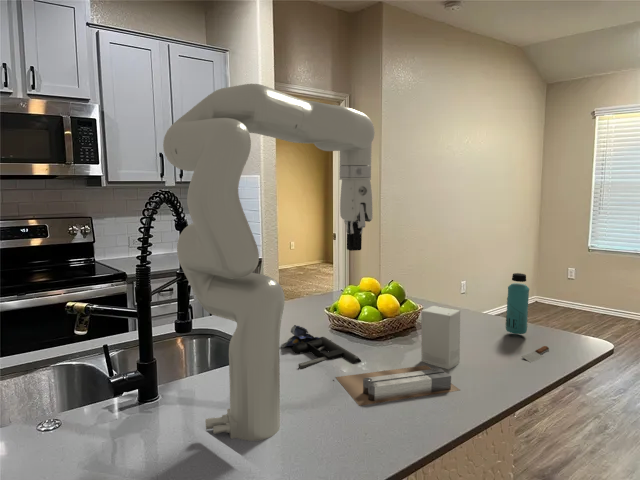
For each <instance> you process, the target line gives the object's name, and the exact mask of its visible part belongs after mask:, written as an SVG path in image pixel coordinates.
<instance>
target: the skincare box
mask: <svg viewBox="0 0 640 480" xmlns="http://www.w3.org/2000/svg"><path fill="white" fill-rule="evenodd" d="M420 337H421V345H420V346H421V351H420V352H421V357H420V358H421V362H423V363H426V364H429V365H432V366H435V367H438V368H441V369H446V370H450V369H452V368H454V367H455V366H457V365H459V364H460V363H461V361H460V359H461V357H460V355H461V352H460V351H461V310H458V309H452V308H447V307H443V306H442V307H440V306H438V305H431V306H429V307H427V308H425V309H423V310H421V336H420Z"/></svg>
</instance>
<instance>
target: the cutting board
mask: <svg viewBox="0 0 640 480" xmlns="http://www.w3.org/2000/svg"><path fill="white" fill-rule="evenodd" d="M429 369H432V367H430V366H428V365H427V364H424V365H419V366H411V367H410V366H409V367H405V368H404V367H403V368H396V369H388V370H380V371H373V372H366V373H357V374H350V375H349V374H348V375H341V376H335V379H336V380H337V381H338V382H339V383H340V385H341V386H342V387H343V389H345V391H346V392H347V393H348V394H349V396H350V397H351V398H352V399H353V400H354V402H355V403H356V404H357V406H358V407H359V406H360V407H361V406H368V405H374V404H380V403H386V402H394V401H399V400H400V401H401V400H405V399H406V400H407V399H412V398H418V397H425V396H432V395H439V394H443V393H444V394H445V393H452V392H459V391H461V389H460V388H458V387H457V386H456V385H454V384H453V383H452V382H451V390H444V391H437V392H430V393H423V394H417V395H410V396H404V397H397V398H391V399H384V400H377V401H370V400H368V394H364V393H363V379H364V378H369V377H377V376H385V375H392V374H400V373H408V372H416V371H421V370H429Z"/></svg>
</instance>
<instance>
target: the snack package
mask: <svg viewBox="0 0 640 480" xmlns="http://www.w3.org/2000/svg"><path fill="white" fill-rule="evenodd" d="M290 333H291V334H292V335H293V336H291V337H289V339H288V340H287V342H285V343H284V344H281V345H280V346H281V347H282V348H283V349H285V347H293V346H294V345H297V344H301V343H305V342H309V341H313V340H317V339H319V338H320V337H319V336H314V335H311V334H310V333H309V331H308V329H307V328H305V327H303V326H300V325H296V324H294V325H292V327H291V328H290Z"/></svg>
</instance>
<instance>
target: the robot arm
mask: <svg viewBox="0 0 640 480" xmlns="http://www.w3.org/2000/svg"><path fill="white" fill-rule="evenodd" d="M250 134H257V135H260V136H264V137H270V138H275V139H278V140H281V141H286V142H290V143H295V144H297V143H298V144H314V146H315V147H316V148H317V149H319V150H321V151H324V152H339V176H338V177H339V179H338V180H341V185H340V199H339V200H340V201H339V214H340V218H341V219H342V220H343V221H344V224H345V227H346V229H345V231H346V250H347V251H351V252H352V251H354V252H355V251H361V250H362V239H363V238H362V237H363V236H362V234H363V231H364V228H366V222H367V223H368V222H369V223H370V222H371V221H372V220H373V192H372V184H371V180H372V146H373V141H374V139H375V127H374V123H373V121H372V119H371V118H370V117H369V116H368V115H366V114H365V113H364V112H361V111H359V110H356V109H353V108H352V107H351V108H350V107H347V106H344V105H343V106H342V105H338V104H337V105H336V104H329V103H324V102H319V101H313V100H307V99H306V100H305V99H302V98H299V97H296V96H294V95H290V94H288V93H286V92H282V91H279V90H277V89H275V88H272V87H269V86H266V85H263V84H258V83H245V84H240V85H239V84H238V85H233V86H229V87H228V86H227V87H221V88H219V89H216V90H214V91H213V92H211V93H210V94H208V95H207V96H206V97H204V98H203V99H202V100H200V101H199V102H198V103H196V105H194V106H193V107H192V108H191V109H190V110H188V111H187V112H186V113H184V114H183V115H182V116H180V117H179V118H178V119H176V121H175V122H174V123H172V124H171V125H170V126H169V128H168V129H167V131H166V133H165V135H164V138H163V141H162V143H163V144H162V145H163V146H162V147H163V152H164V155H165V157H166V159H167V160H168V163H170V164H171V165H172V166H174V167H175V168H177V169H178V170H181V171H186V172H193V173H192V176H191V179H190V182H189V184H188V185H189V186H188V190H187V196H186V197H187V198H186V204H187V208H188V213H189V215H190V218H191V220H192V223H191V224H188V225H187V226H186V227H184V228H183V230H182V231H181V232H180V234H179V236H178V239H177V244H176V254H177V258H178V262H179V264H180V267H181V269H182V272H183V273H184V276H185V277H186V279H187V281H188V284H189V285H190V287H191V290H192V291H193V293H194V295H195V297H196V299H197V301H198V303H199V304H200V306H201V307H202V308H203V309H204V310H205V311H206V312H207V313H209V314H210V315H212V316H215V317H219V318H222V319H225V320H230V321H232V322H235V323H236V328H235V330H234V332H233V334H232V336H231V338H230V341H229V345H228V363H229V364H228V366H229V367H228V370H229V372H228V374H229V408H227V409H226V414H222V415H221V416H218V417H211V418H210V417H209V418H205V430H211V429H212V432H213V434H214V435H215V434H220V433H226V434H229V437H230V439H232V440H233V439H239V440H242V441H247V442H248V441H249V442H250V441H251V442H254V441H255V442H256V441H262V440H266V439H268V438H272V437H273V436H275V435H276V434H277V433H278V432H279V430H280V428H281V396H280V395H281V390H280V389H281V386H280V385H281V384H280V383H281V379H280V378H281V375H280V369H281V367H280V362H281V361H280V359H281V358H280V337H281V326H282V325H281V324H282V319H283V314H284V309H285V303H286V302H285V297H286V296H285V293H284V292H285V291H284V289H283V287H282V286H281V284H280V283H279V281H277V280H275V278H273V277H270V276H268V275H265V274H261V273H257V272H256V273H255V270H256V268H257V267H258V265H259V260H260V252H259V248H258V245H257V242H256V238H255V237H254V234H253V232H252V229H251V226H250V224H249V222H248V219H247V216H246V214H245V212H244V210H243V206H242V202H241V200H240V195H239V186H240V180H241V178H242V177H241V176H242V174H243V171H244V168H245V165H246V163H247V161H248V159H249V157H250V153H251V147H252V141H251V135H250Z"/></svg>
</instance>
